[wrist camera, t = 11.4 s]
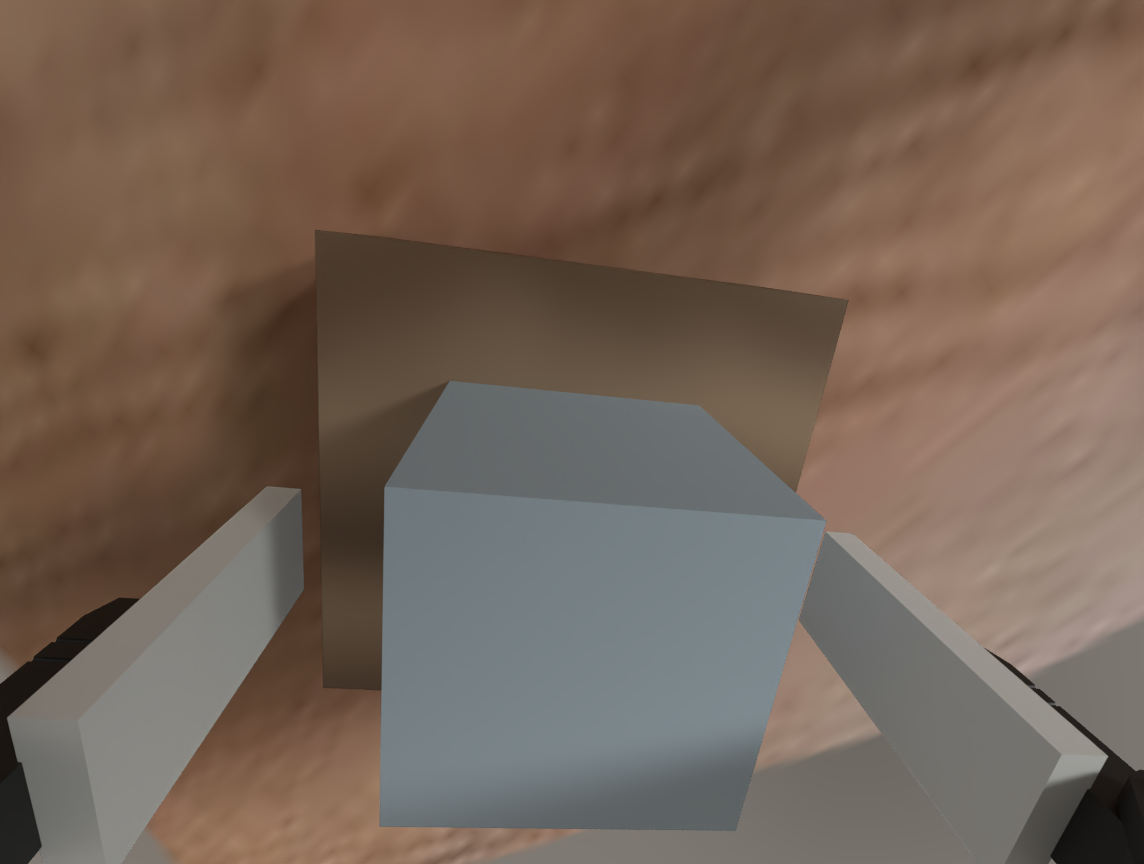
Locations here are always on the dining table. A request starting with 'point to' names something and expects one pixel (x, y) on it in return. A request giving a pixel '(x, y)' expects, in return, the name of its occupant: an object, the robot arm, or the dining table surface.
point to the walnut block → (526, 377)
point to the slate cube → (582, 614)
